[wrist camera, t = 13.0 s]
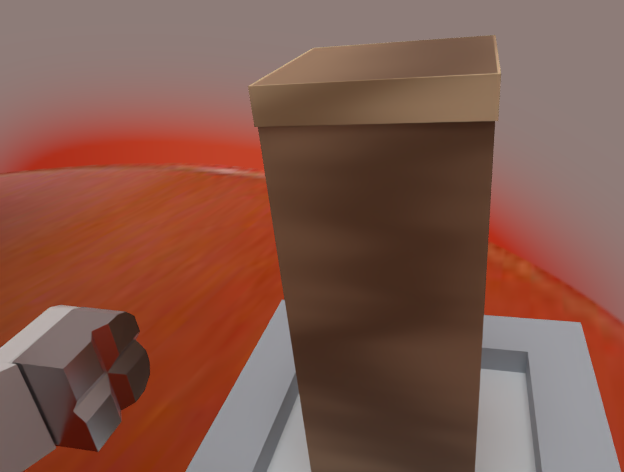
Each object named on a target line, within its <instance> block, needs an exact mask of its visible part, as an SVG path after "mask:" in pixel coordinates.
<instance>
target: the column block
mask: <svg viewBox="0 0 624 472" xmlns="http://www.w3.org/2000/svg"><path fill="white" fill-rule="evenodd" d="M500 82H501V70H500V63H499V57H498V50H497V44H496V37H495V35H490V36H476V37H463V38H462V37H461V38H447V39H433V40H419V41H406V42H391V43H377V44H364V45H349V46H334V47H320V48H313V49H311V50H309V51H307V52H306V53H304V54H302V55H301V56H299V57H297V58H296V59H294V60H292V61H290V62H289V63H287V64H285V65H284V66H282V67H280V68H279V69H277V70H275V71H273V72H272V73H270V74H268V75H267V76H265V77H263V78H261V79H260V80H258V81H256V82H255V83H253V84H251V85H250V86H248V88H249V94H250V101H251V107H252V114H253V120H254V126H255V127H258V131H259V137H260V143H261V149H262V156H263V163H264V170H265V176H266V183H267V189H268V195H269V202H270V208H271V215H272V221H273V228H274V234H275V241H276V247H277V254H278V260H279V267H280V273H281V280H282V286H283V293H284V299H285V305H286V312H287V318H288V325H289V331H290V338H291V344H292V351H293V357H294V364H295V370H296V377H297V383H298V390H299V396H300V403H301V409H302V415H303V422H304V428H305V435H306V441H307V448H308V454H309V461H310V467H311V472H475V460H476V443H477V425H478V408H479V391H480V373H481V356H482V339H483V321H484V304H485V286H486V269H487V252H488V234H489V217H490V199H491V182H492V163H493V146H494V130H495V121H498V116H499V99H500V98H499V97H500Z"/></svg>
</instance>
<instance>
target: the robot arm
mask: <svg viewBox="0 0 624 472" xmlns="http://www.w3.org/2000/svg"><path fill="white" fill-rule="evenodd" d="M139 332H140V330H139V327H138V325H137V322H136V319H135V317H134V316H133V315H131V314H129V313H127V312H123V311H114V310H105V309H96V308H87V307H74V306H65V305H58V306H54V307H50V308H48V309H47V310H46V311H45V312H43V313H42V314H41V315H40V316H39V317H37V318H36V319H35V320H34V321H33V322H31V323H30V324H29V325H28V326H26V327H25V328H24V329H23V330H22V331H20V332H19V333H18V334H17V335H15V336H14V337H13V338H12V339H11V340H9V341H8V342H7V343H6V344H5V345H3V346H2V347H1V348H0V472H23V471H24V470H25V469H27V468H28V467H30V466H31V465H33V464H34V463H36V462H37V461H39V460H40V459H41V458H43V457H44V456H46V455H47V454H49V453H50V452H52V451H53V450H54V449H56V446H62V447H69V448H75V449H82V450H89V451H96V452H98V451H99V450H100V449H101V447H102V446H103V445H104V443H105V442H106V441H107V440H108V438H109V437H110V436H111V434H112V433H113V432H114V430H115V429H116V428H117V426H118V425H119V424H120V422H121V410H123V409H125V408H127V407H128V406H130V405H132V404H134V403H135V402H136V401H137V400H138V399H139V397H140V396H141V394H142V393H143V392H144V390H145V387H146V384H147V381H148V378H149V375H150V364H149V358H148V355H147V352H146V350H145V349H144V348H143V347H142V346H141V345H140V344H139V343H138V342H137V341H136V338H137V336H138V334H139Z"/></svg>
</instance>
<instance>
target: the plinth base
mask: <svg viewBox="0 0 624 472" xmlns="http://www.w3.org/2000/svg"><path fill="white" fill-rule="evenodd" d="M186 472H311V467H310V461H309V454H308V448H307V441H306V435H305V428H304V422H303V415H302V409H301V403H300V396H299V390H298V383H297V377H296V370H295V364H294V357H293V351H292V344H291V338H290V331H289V325H288V318H287V312H286V305H285V300H282V301H281V303H280V304H279V306H278V308H277V310H276V312H275V313H274V315H273V317H272V319H271V320H270V322H269V324H268V326H267V328H266V329H265V331H264V333H263V335H262V336H261V338H260V340H259V342H258V344H257V345H256V347H255V349H254V351H253V353H252V354H251V356H250V358H249V360H248V361H247V363H246V365H245V367H244V369H243V370H242V372H241V374H240V376H239V377H238V379H237V381H236V383H235V385H234V386H233V388H232V390H231V392H230V393H229V395H228V397H227V399H226V401H225V402H224V404H223V406H222V408H221V409H220V411H219V413H218V415H217V417H216V418H215V420H214V422H213V424H212V425H211V427H210V429H209V431H208V433H207V434H206V436H205V438H204V440H203V441H202V443H201V445H200V447H199V449H198V450H197V452H196V454H195V456H194V457H193V459H192V461H191V463H190V465H189V466H188V468H187V470H186ZM475 472H621V470H620V466H619V462H618V459H617V455H616V451H615V448H614V444H613V440H612V436H611V433H610V429H609V425H608V422H607V418H606V414H605V411H604V407H603V403H602V400H601V396H600V392H599V388H598V385H597V381H596V377H595V374H594V370H593V366H592V363H591V359H590V355H589V352H588V348H587V344H586V340H585V337H584V333H583V329H582V326H581V323H580V322H567V321H554V320H541V319H528V318H515V317H501V316H488V315H484V321H483V339H482V356H481V373H480V391H479V408H478V425H477V443H476V460H475Z"/></svg>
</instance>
